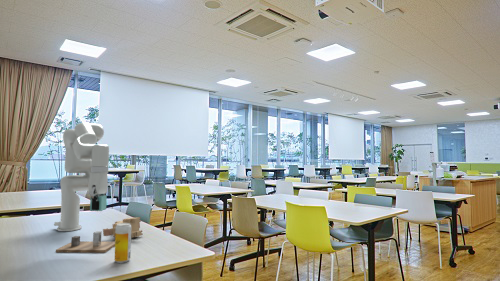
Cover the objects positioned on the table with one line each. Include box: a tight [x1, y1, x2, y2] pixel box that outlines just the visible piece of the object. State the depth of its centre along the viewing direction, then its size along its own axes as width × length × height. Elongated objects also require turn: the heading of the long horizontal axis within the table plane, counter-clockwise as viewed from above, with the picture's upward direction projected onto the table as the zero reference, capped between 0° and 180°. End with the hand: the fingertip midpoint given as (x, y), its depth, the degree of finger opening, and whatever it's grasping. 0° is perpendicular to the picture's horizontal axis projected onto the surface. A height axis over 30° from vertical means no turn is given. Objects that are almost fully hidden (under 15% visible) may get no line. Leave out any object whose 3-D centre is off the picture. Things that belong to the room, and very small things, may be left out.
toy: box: [102, 216, 144, 239], centre depth 168 cm, size 10×20×20 cm
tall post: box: [92, 230, 103, 246], centre depth 147 cm, size 3×3×6 cm
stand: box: [55, 235, 115, 254], centre depth 147 cm, size 22×14×5 cm, turn 91°
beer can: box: [114, 223, 132, 264], centre depth 129 cm, size 6×6×15 cm
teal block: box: [89, 194, 108, 212], centre depth 148 cm, size 5×5×7 cm
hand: (98, 208), depth 148 cm, fingers closed on teal block, 5 cm apart
